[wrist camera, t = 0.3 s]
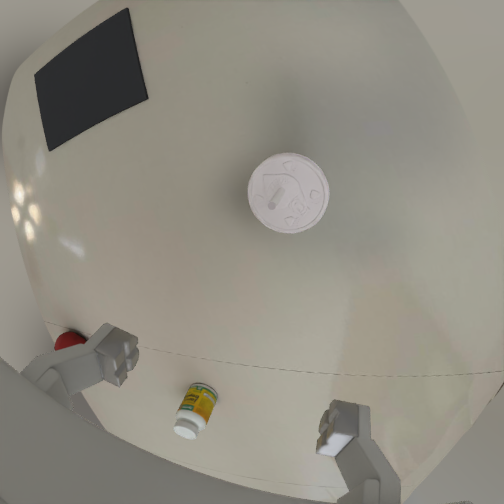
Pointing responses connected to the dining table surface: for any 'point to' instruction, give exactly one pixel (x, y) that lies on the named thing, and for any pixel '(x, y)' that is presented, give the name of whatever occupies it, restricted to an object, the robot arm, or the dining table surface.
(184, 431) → the supplement bottle
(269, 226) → the smoothie
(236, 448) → the dining table surface
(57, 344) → the tomato
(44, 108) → the mat
